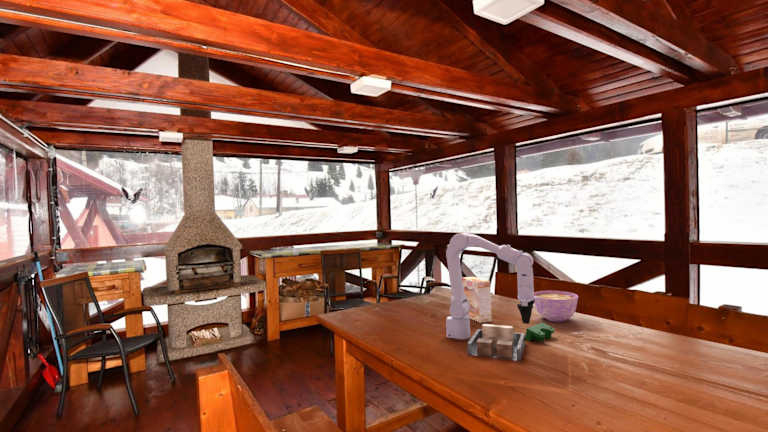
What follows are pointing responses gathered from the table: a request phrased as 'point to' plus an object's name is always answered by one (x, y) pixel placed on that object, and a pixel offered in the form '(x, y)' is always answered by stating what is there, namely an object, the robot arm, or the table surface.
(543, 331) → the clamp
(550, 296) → the bowl of food
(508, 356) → the offcut right
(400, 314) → the table surface
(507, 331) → the birch block
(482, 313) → the coffeecake box
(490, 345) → the offcut left
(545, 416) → the table surface
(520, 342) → the tray
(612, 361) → the table surface
